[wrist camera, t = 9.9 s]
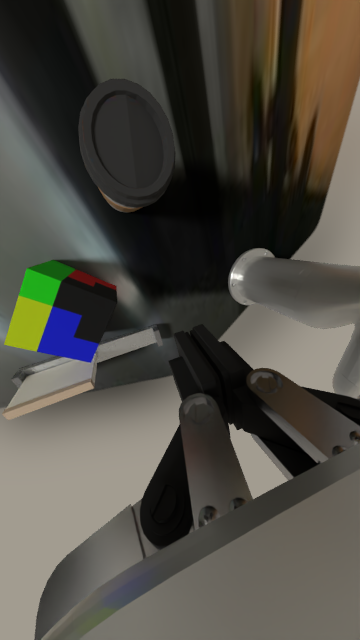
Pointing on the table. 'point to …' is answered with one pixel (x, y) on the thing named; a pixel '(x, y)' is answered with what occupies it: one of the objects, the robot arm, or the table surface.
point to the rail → (98, 351)
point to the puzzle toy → (61, 312)
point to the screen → (52, 386)
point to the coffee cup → (126, 144)
